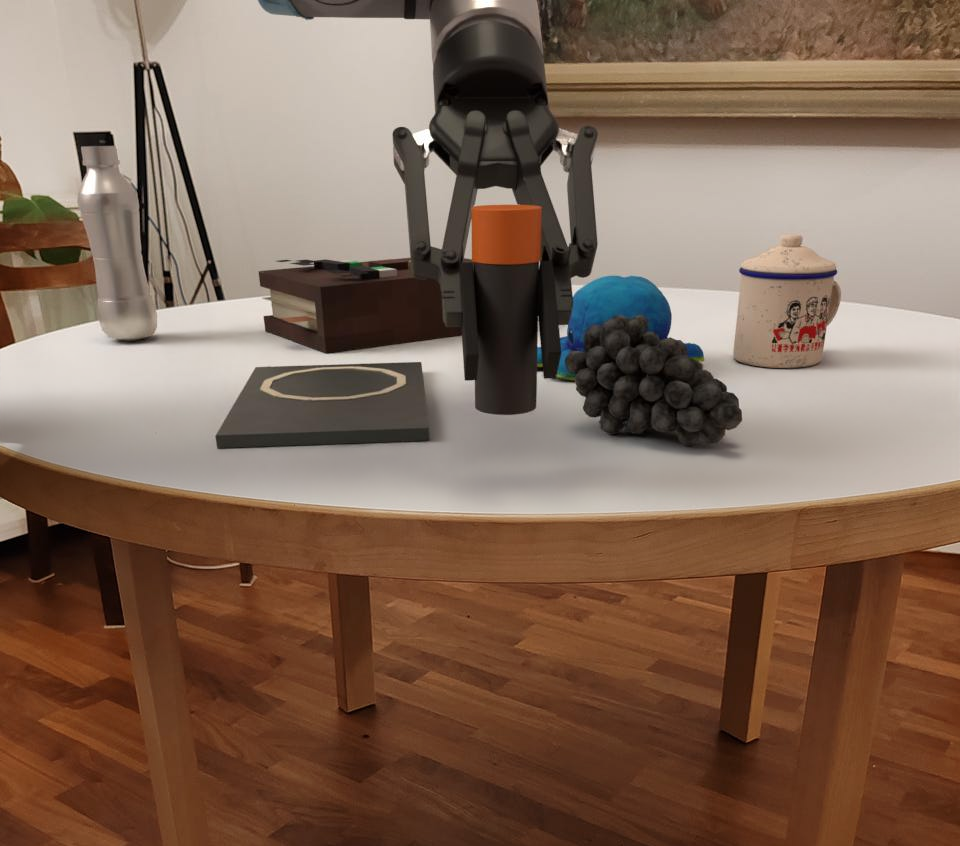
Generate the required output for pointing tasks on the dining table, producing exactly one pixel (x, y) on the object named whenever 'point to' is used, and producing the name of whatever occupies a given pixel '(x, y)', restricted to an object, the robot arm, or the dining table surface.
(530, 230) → the marker
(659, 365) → the fruit
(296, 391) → the slate board
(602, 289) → the plush toy
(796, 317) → the teacup with lid
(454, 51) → the robot arm
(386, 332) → the decorative book
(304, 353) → the dining table surface
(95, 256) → the metal water bottle
